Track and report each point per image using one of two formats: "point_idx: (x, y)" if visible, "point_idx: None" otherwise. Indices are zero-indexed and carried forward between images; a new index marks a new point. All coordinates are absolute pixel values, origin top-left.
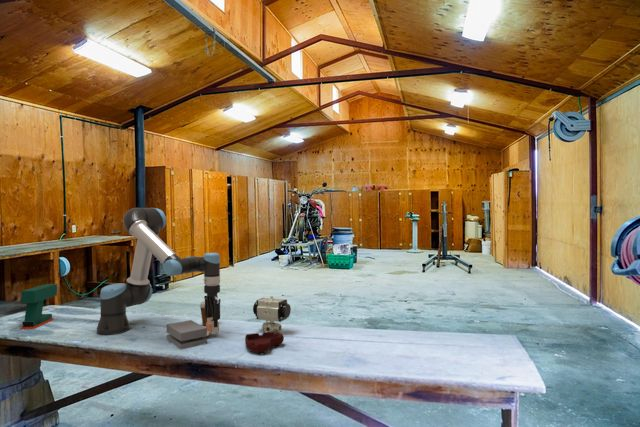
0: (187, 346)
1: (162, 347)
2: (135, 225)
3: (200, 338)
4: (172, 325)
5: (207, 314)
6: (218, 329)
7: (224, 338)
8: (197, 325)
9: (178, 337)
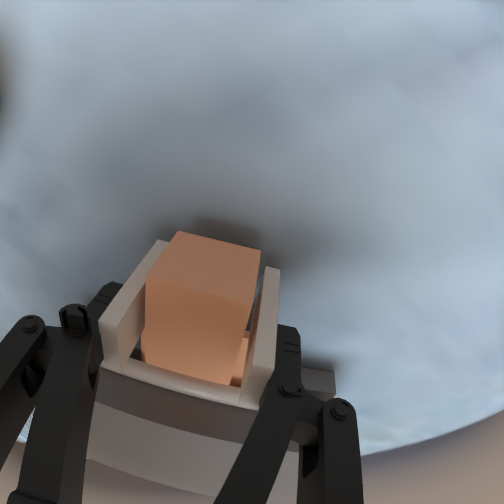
0: None
1: None
2: None
3: None
4: (109, 460)
5: (92, 401)
6: (258, 262)
7: (367, 255)
8: (214, 448)
9: None
